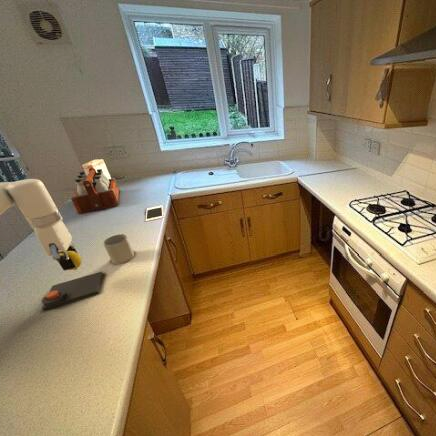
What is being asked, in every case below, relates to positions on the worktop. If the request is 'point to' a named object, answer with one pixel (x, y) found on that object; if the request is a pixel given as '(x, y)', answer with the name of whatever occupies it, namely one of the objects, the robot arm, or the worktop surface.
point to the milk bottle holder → (95, 191)
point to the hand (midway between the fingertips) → (71, 263)
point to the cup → (118, 248)
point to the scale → (74, 290)
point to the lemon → (74, 259)
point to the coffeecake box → (96, 167)
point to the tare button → (52, 295)
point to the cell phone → (154, 213)
